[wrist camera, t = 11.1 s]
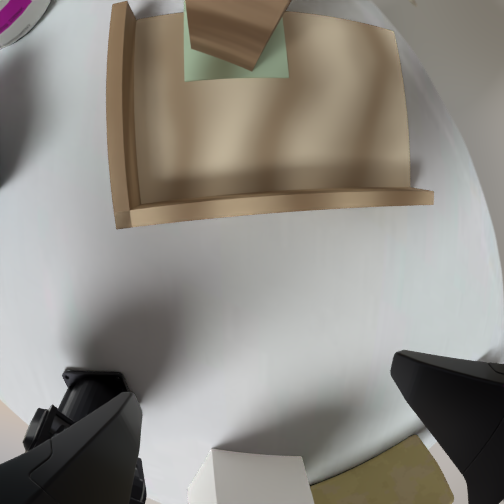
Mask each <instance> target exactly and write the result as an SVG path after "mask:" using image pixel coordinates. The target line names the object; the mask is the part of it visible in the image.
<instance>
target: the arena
mask: <svg viewBox="0 0 504 504" xmlns="http://www.w3.org/2000/svg"><path fill="white" fill-rule="evenodd" d="M106 121H107V145H108V160H109V172H110V183H111V192H112V201H113V209H114V216H115V223H116V229H123V228H131V227H139V226H147V225H156V224H164V223H173V222H182V221H192V220H201V219H211V218H222V217H232V216H243V215H255V214H267V213H280V212H293V211H308V210H323V209H340V208H359V207H380V206H407V205H433V203H434V191H429V190H423V189H417V188H411V187H410V149H409V132H408V119H407V109H406V99H405V91H404V84H403V77H402V71H401V65H400V59H399V54H398V48H397V43H396V39H395V34H394V31H391V30H388V29H384V28H380V27H377V26H373V25H369V24H364V23H360V22H356V21H351V20H346V19H341V18H335V17H329V16H323V15H316V14H309V13H300V12H290V11H285V13H284V14H283V16H282V18H281V20H280V22H279V23H278V25H277V27H276V29H275V30H274V32H273V34H272V36H271V37H270V39H269V41H268V43H267V45H266V46H265V48H264V50H263V52H262V54H261V56H260V57H259V59H258V61H257V63H256V65H255V67H254V69H253V71H249V70H247V69H245V68H242V67H240V66H237V65H235V64H232V63H230V62H227V61H224V60H222V59H219V58H216V57H214V56H211V55H208V54H205V53H202V52H199V51H196V50H193V49H191V44H190V37H189V29H188V20H187V12H186V3H185V1H184V12H183V13H175V14H167V15H160V16H154V17H148V18H143V19H138V20H136V18H135V16H134V14H133V12H132V10H131V8H130V6H129V4H128V1H124V2H120V3H116V4H113V5H112V12H111V21H110V30H109V41H108V55H107V78H106Z"/></svg>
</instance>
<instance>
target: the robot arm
mask: <svg viewBox="0 0 504 504" xmlns="http://www.w3.org/2000/svg"><path fill="white" fill-rule="evenodd" d="M390 373H391V376H392V378H393V380H394V382H395V383H396V385H397V386H398V388H399V390H400V391H401V393H402V395H403V396H404V398H405V400H406V401H407V403H408V404H409V405H410V407H411V408H412V409H413V411H414V412H415V413H416V414H417V416H418V417H419V418H420V420H421V421H422V422H423V423H424V425H425V426H426V427H427V429H428V430H429V431H430V432H431V434H432V435H433V436H434V438H435V439H436V440H437V442H438V443H439V444H440V446H441V447H442V448H443V449H444V451H445V452H446V453H447V455H448V456H449V457H450V459H451V460H452V461H453V463H454V464H455V465H456V467H457V468H458V469H459V471H460V472H461V474H463V476H464V478H465V480H466V483H467V489H468V501H469V502H468V503H469V504H499V503H500V502H501V501H502V500H503V501H504V364H497V363H486V362H478V361H471V360H463V359H457V358H450V357H443V356H437V355H431V354H425V353H419V352H414V351H408V350H402V351H399V352H396V353H395V354H394V357H393V362H392V366H391V370H390ZM62 376H63V379H64V381H65V383H66V385H67V387H68V389H67V391H66V393H65V395H64V397H63V399H62V401H61V404H60V406H59V408H56V407H55V406H54V405H51V407H50V408H49V409H48V410H47V409H41V408H38V409H37V411H36V413H35V415H34V417H33V419H32V421H31V423H30V425H29V427H28V430H27V432H26V435H25V438H24V440H23V444H24V447H25V450H26V451H25V453H24V454H22V455H20V456H18V457H15V458H13V459H11V460H9V461H6V462H4V463H2V464H0V504H145V501H146V486H145V480H144V474H143V467H142V461H141V459H140V458H138V454H139V448H140V436H141V424H142V410H141V408H140V405H139V403H138V400H137V398H136V396H135V394H134V393H133V392H130V391H129V389H128V386H127V384H126V381H125V379H124V376H123V375H122V374H121V373H119V372H84V371H64V373H63V374H62ZM117 377H119V378H117Z"/></svg>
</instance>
